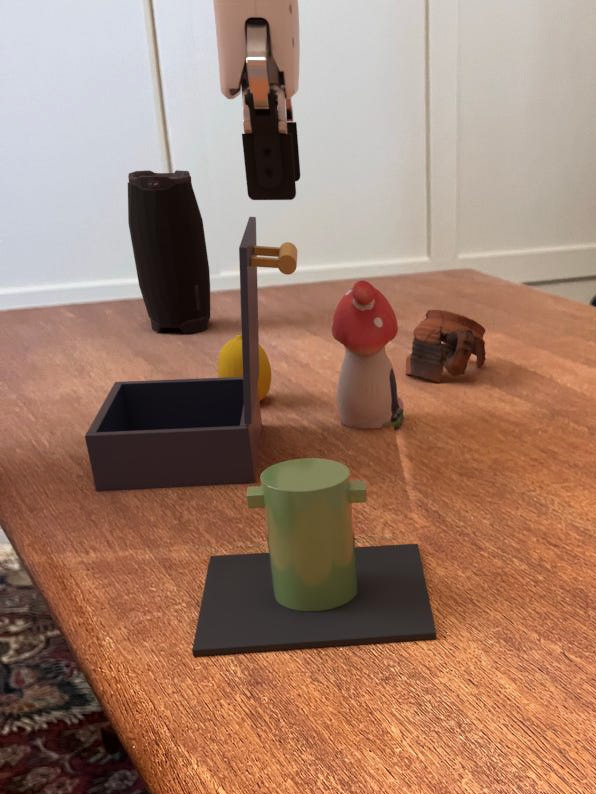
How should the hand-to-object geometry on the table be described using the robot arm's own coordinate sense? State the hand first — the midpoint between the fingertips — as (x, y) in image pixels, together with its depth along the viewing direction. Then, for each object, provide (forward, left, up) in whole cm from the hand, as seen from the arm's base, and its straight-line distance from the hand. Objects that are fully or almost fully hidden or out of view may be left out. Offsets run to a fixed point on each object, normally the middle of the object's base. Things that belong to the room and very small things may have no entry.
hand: (276, 189), depth 73 cm
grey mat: (+1, -15, -25) cm, 30 cm away
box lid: (-4, +13, -12) cm, 18 cm away
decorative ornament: (+7, +22, -26) cm, 34 cm away
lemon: (-6, +29, -26) cm, 39 cm away
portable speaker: (-17, +66, -26) cm, 73 cm away
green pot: (+1, -15, -25) cm, 29 cm away
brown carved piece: (+17, +39, -26) cm, 49 cm away
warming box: (-11, +13, -25) cm, 31 cm away
